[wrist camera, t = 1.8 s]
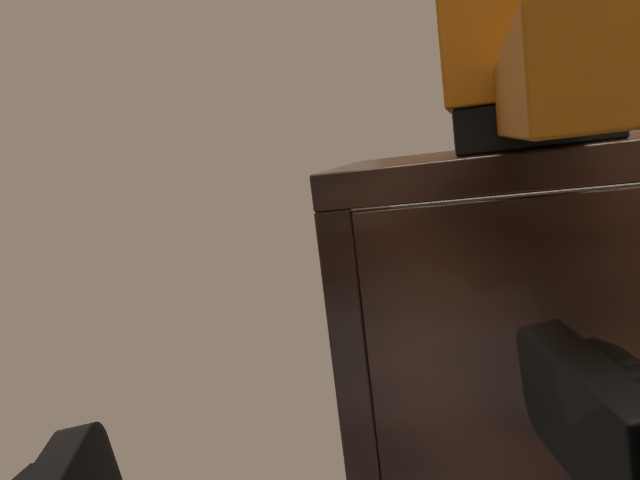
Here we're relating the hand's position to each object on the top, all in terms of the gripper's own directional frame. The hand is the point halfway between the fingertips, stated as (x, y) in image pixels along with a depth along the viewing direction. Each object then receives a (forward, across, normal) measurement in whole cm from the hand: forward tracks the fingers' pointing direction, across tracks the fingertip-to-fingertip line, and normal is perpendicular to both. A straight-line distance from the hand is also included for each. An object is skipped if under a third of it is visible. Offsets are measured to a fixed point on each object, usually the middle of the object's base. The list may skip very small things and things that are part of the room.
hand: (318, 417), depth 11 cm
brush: (+6, -8, -3) cm, 10 cm away
